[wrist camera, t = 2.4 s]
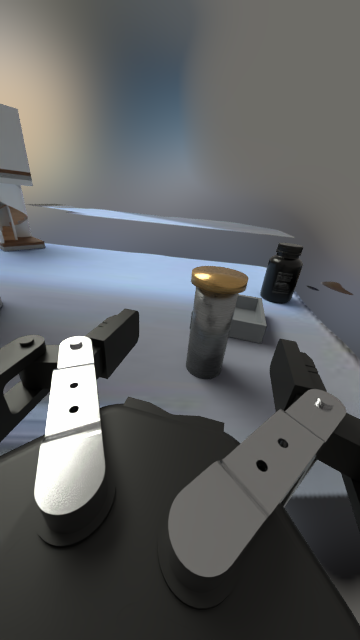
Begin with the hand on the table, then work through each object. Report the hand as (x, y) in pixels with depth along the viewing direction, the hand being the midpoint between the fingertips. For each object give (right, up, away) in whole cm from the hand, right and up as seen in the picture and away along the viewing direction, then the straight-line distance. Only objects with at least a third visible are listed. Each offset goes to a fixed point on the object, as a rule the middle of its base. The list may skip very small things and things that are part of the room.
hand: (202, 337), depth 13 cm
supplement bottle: (+21, +6, +39) cm, 45 cm away
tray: (+7, +1, +27) cm, 28 cm away
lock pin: (+2, -5, +15) cm, 16 cm away
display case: (-54, +25, +60) cm, 85 cm away
